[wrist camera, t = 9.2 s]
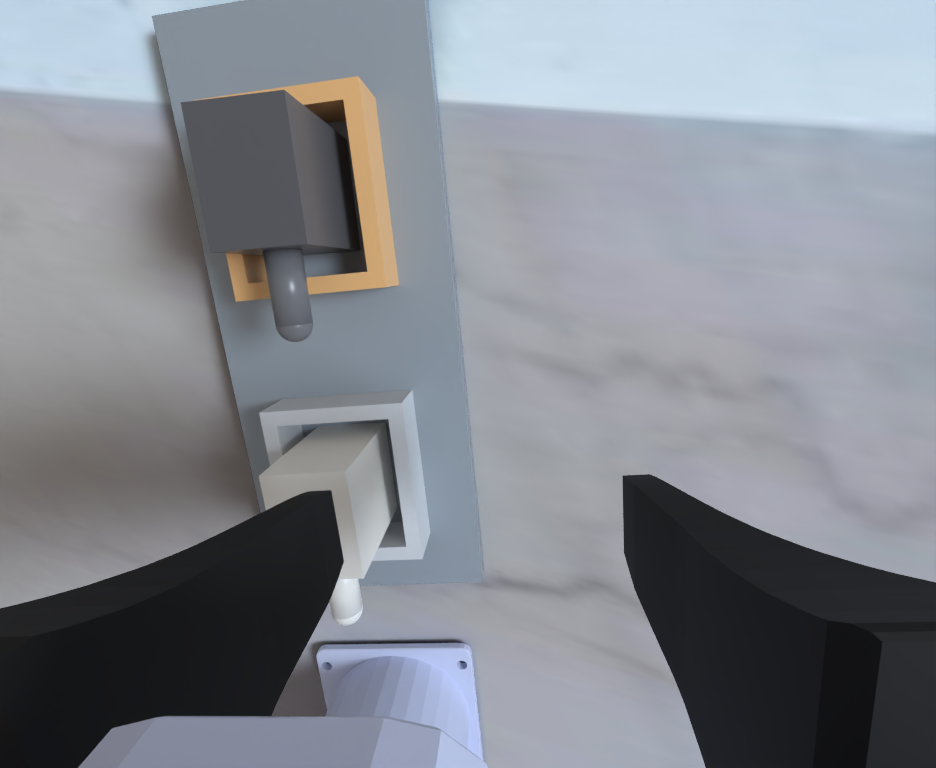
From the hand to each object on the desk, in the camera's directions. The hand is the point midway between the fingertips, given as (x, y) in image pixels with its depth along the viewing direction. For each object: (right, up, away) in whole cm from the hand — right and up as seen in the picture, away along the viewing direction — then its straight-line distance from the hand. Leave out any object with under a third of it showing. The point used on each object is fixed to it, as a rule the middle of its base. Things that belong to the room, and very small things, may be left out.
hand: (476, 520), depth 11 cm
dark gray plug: (-6, +9, +7) cm, 13 cm away
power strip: (-6, +6, +9) cm, 12 cm away
